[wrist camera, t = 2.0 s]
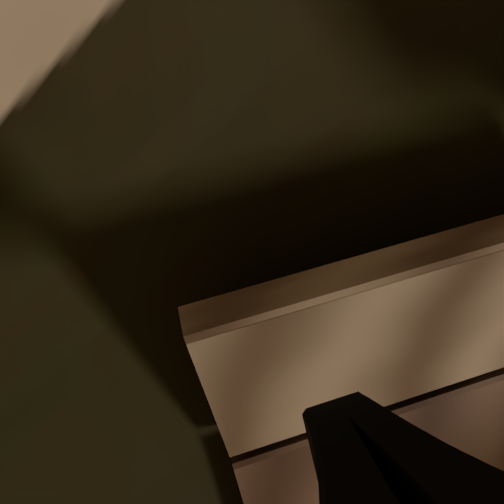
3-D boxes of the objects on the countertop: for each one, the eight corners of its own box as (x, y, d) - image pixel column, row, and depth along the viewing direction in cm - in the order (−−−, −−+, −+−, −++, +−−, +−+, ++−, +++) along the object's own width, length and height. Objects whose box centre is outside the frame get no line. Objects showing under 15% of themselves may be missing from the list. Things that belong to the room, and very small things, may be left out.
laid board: (580, 330, 21) (605, 340, 20) (586, 447, 23) (608, 463, 22) (228, 444, 19) (231, 464, 18) (263, 564, 21) (269, 588, 20)
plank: (679, 163, 15) (714, 181, 14) (584, 314, 21) (606, 333, 20) (177, 306, 13) (183, 336, 12) (223, 430, 19) (229, 457, 18)
